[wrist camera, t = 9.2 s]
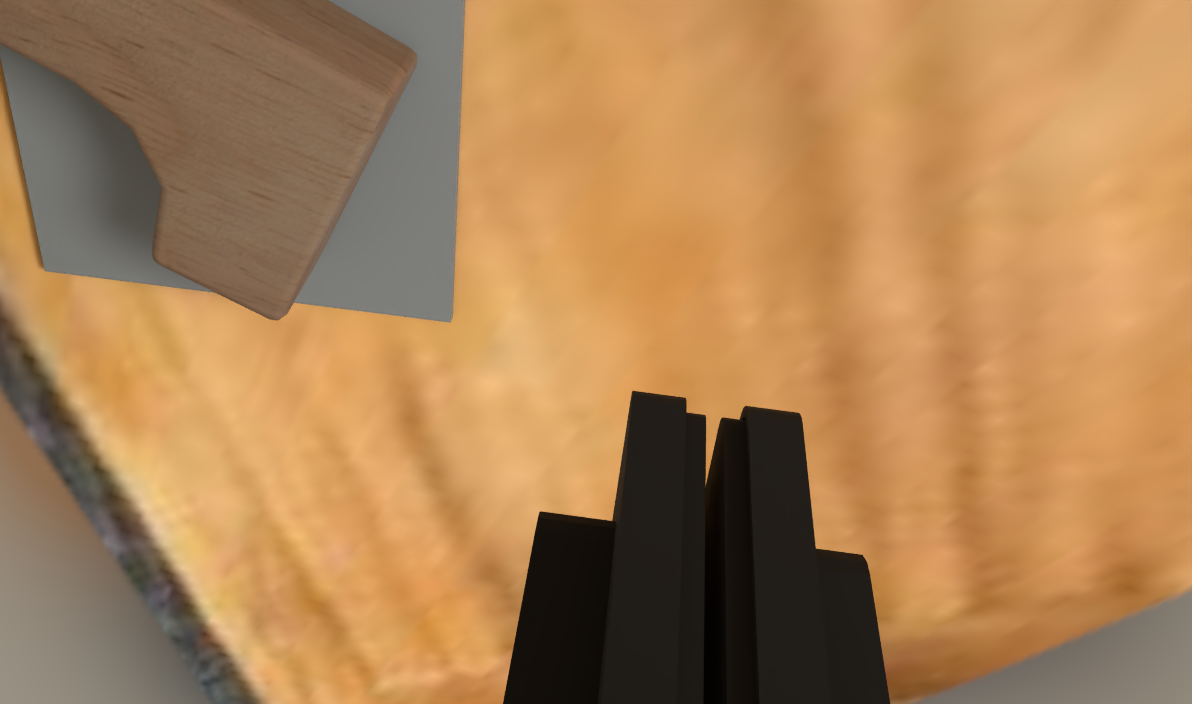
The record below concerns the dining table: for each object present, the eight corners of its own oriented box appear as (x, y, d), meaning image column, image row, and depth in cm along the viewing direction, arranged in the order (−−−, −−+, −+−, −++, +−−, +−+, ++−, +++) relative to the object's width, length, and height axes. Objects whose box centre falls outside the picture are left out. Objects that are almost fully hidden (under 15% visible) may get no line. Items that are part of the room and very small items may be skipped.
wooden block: (278, 329, 35) (-311, 39, 31) (317, 261, 39) (-203, -6, 34) (392, 102, 30) (-283, -276, 26) (424, 50, 34) (-162, -288, 30)
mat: (477, -313, 29) (475, -313, 28) (452, 316, 40) (450, 322, 40) (-83, -387, 29) (-92, -386, 28) (49, 265, 40) (44, 271, 40)
